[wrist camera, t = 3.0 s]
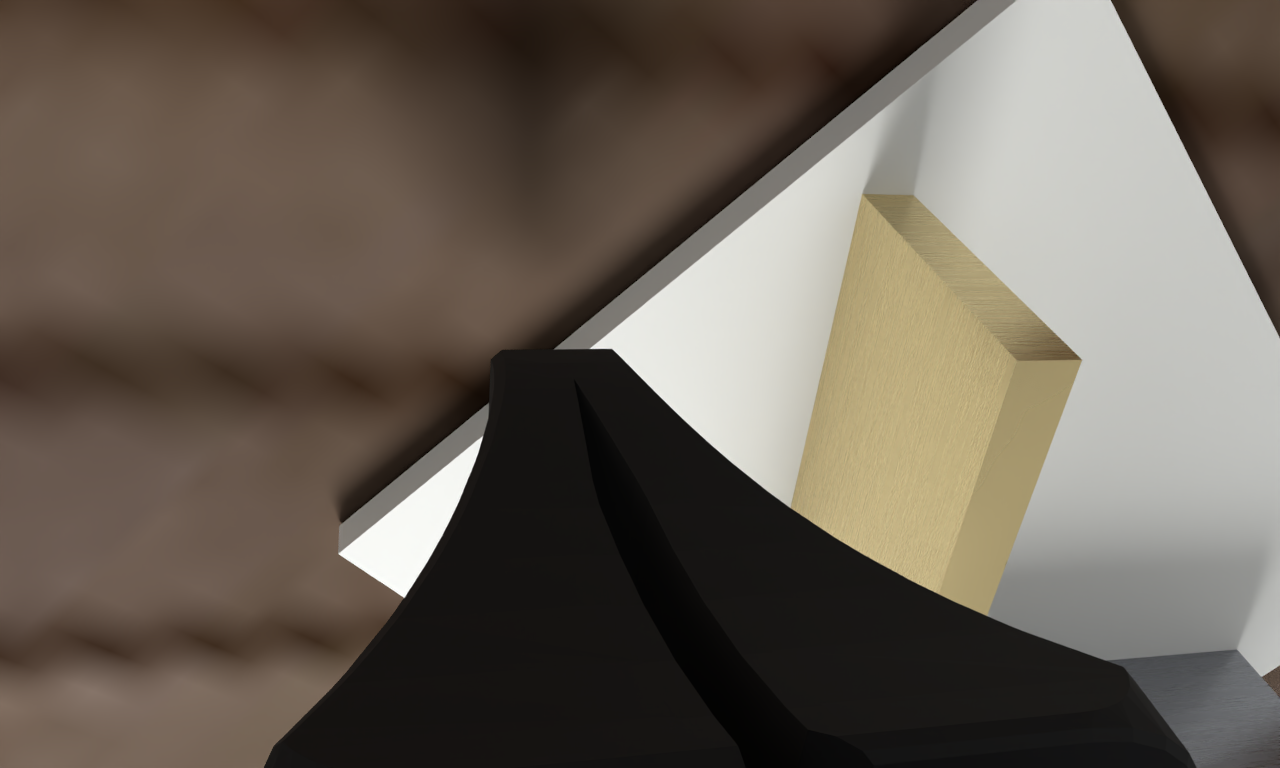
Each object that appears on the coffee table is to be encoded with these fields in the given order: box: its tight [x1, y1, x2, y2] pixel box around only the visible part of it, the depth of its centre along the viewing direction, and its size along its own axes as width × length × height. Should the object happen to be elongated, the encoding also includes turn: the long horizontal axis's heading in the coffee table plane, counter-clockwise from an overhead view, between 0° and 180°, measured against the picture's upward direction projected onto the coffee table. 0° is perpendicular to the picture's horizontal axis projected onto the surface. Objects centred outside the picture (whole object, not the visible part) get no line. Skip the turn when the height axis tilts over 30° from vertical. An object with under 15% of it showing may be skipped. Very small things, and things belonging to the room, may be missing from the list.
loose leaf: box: [791, 194, 1082, 616], centre depth 14 cm, size 7×1×4 cm, turn 174°
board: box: [338, 0, 1280, 677], centre depth 18 cm, size 15×12×1 cm
